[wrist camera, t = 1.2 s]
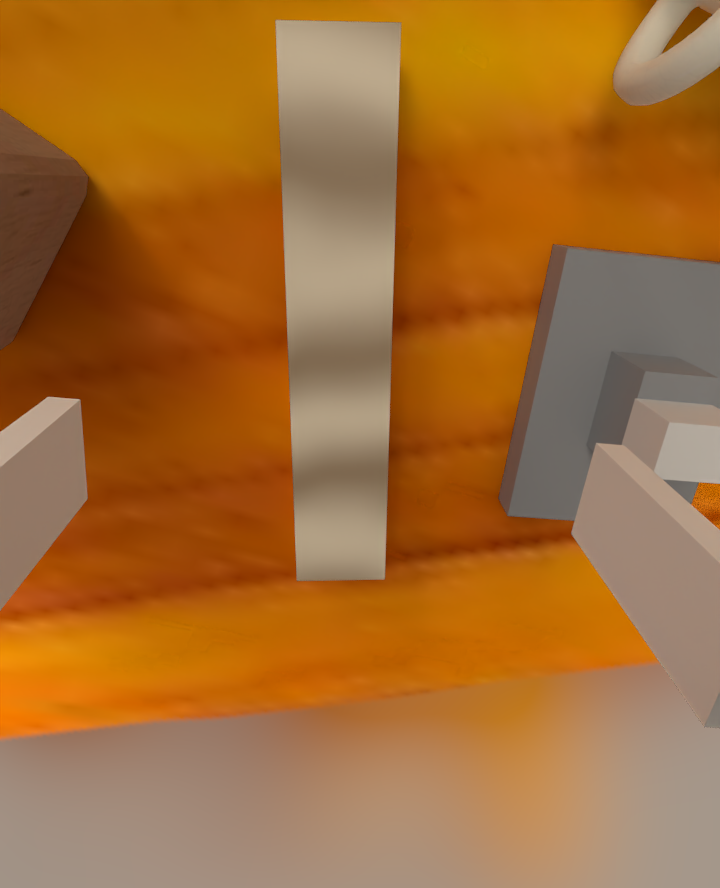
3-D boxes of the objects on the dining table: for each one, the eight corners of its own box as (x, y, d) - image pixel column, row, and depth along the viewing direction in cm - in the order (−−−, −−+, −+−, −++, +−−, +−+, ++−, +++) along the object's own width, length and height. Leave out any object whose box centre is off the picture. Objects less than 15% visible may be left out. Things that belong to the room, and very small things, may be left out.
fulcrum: (553, 244, 30) (632, 265, 22) (747, 265, 31) (890, 292, 23) (498, 498, 35) (546, 588, 27) (664, 510, 36) (757, 601, 28)
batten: (285, 48, 26) (275, 19, 22) (389, 50, 27) (401, 22, 22) (301, 529, 36) (296, 580, 31) (378, 529, 36) (384, 579, 31)
